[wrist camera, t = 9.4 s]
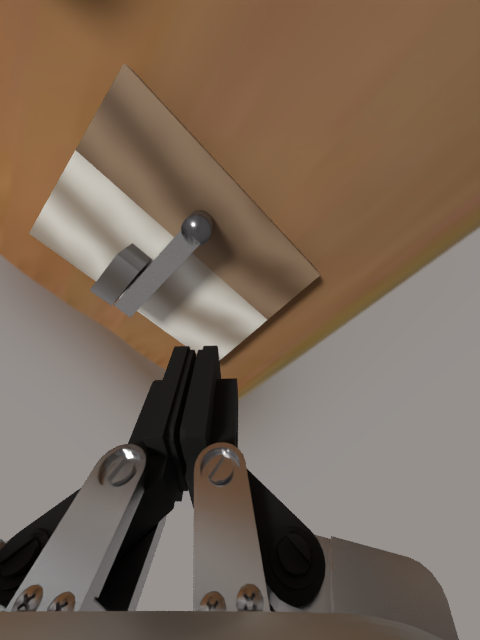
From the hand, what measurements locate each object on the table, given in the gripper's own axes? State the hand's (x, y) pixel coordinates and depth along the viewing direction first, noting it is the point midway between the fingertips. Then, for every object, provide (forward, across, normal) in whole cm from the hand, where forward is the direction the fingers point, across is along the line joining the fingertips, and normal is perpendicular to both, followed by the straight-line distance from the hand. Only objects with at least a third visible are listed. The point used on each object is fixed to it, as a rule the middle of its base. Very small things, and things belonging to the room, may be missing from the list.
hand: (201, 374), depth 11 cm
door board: (+22, +5, +1) cm, 22 cm away
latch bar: (+19, +6, +1) cm, 20 cm away
